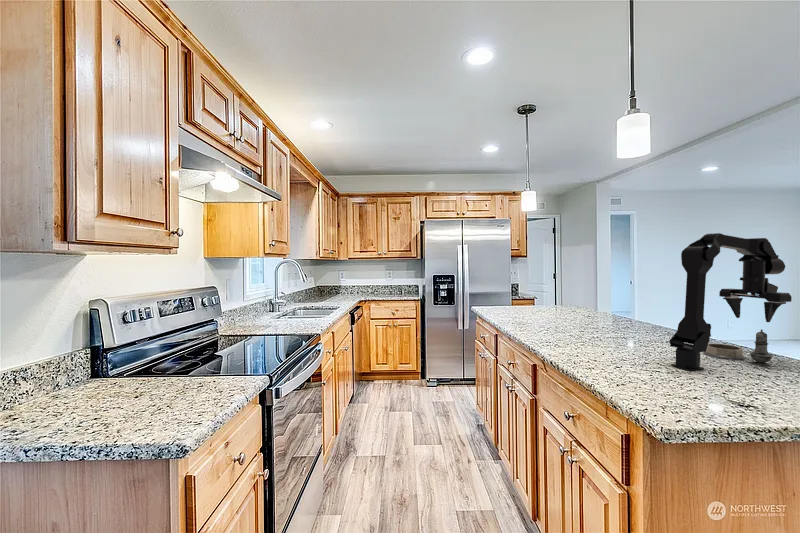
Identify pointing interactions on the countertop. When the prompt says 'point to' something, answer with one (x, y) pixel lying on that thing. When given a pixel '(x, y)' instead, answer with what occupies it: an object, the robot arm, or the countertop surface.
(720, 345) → the ring holder
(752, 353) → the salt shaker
